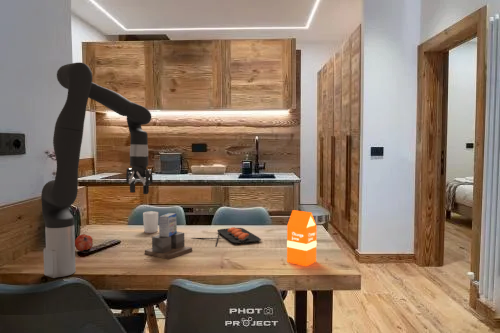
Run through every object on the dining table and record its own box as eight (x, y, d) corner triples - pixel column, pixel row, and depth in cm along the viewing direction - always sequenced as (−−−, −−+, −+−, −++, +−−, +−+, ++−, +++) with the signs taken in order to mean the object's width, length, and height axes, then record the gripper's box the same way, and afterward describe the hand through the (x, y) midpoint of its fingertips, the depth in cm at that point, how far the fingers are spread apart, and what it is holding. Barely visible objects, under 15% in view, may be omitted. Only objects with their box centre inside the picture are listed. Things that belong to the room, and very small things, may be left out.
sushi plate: (263, 243, 179) (263, 235, 179) (200, 250, 168) (200, 241, 168) (241, 230, 206) (241, 223, 206) (186, 235, 195) (186, 228, 195)
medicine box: (168, 237, 159) (168, 216, 158) (158, 236, 160) (158, 216, 159) (176, 233, 166) (176, 213, 166) (167, 232, 167) (167, 212, 167)
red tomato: (72, 255, 166) (73, 246, 159) (74, 240, 170) (75, 230, 163) (91, 255, 169) (93, 246, 162) (92, 240, 173) (94, 230, 166)
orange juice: (297, 257, 156) (297, 208, 155) (316, 261, 151) (317, 211, 149) (286, 262, 150) (286, 211, 149) (306, 266, 145) (306, 214, 143)
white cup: (140, 232, 200) (139, 213, 199) (148, 229, 207) (148, 211, 207) (153, 233, 197) (153, 214, 197) (161, 230, 205) (161, 211, 204)
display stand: (192, 251, 165) (192, 233, 165) (168, 259, 154) (168, 240, 153) (168, 246, 173) (168, 229, 173) (144, 253, 161) (144, 236, 161)
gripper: (121, 155, 164) (121, 192, 165) (143, 155, 156) (143, 195, 157) (135, 155, 170) (135, 191, 171) (157, 155, 162) (157, 193, 163)
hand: (139, 193), depth 164 cm, fingers open, 8 cm apart
